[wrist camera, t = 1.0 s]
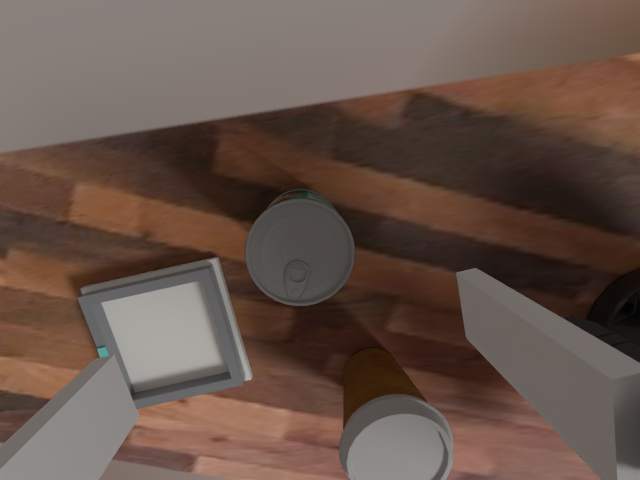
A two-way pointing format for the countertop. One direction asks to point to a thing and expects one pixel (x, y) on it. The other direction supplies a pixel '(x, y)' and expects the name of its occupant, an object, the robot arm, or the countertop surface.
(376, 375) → the disposable coffee cup
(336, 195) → the countertop surface
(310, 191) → the canned tomato
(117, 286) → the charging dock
